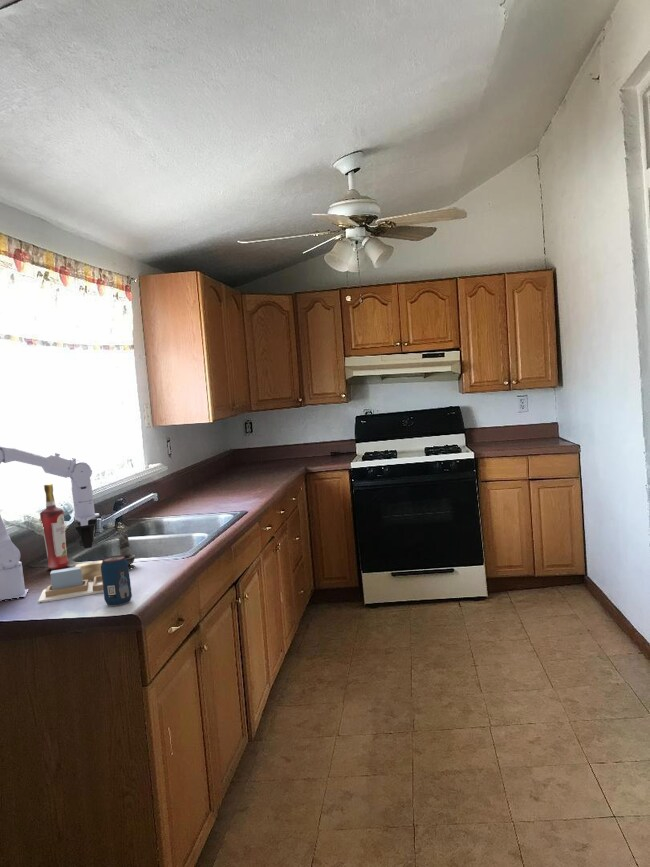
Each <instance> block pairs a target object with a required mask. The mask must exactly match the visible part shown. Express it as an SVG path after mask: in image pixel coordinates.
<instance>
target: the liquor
mask: <svg viewBox="0 0 650 867" xmlns="http://www.w3.org/2000/svg"><path fill="white" fill-rule="evenodd" d="M43 487H44V488H43V489H44V493H45V507H46V508H45V509H44V510H42V511H41V512H40V513H39V516H40V522H41V521H42V523H43V527H44V534H43V538H44V543H45V550H46V557H47V562H48V564H47V566H46V567H48V568H49V569H50V570H51V571H54V570H60V569H66V567H67V566H68V565H69V563H70V561H69V560H68V551H67V540H66V525H65V514H64V509H63V508H61V507H57V505H56V502H55V498H54V486H53V483H48V484H44V485H43ZM42 523H41V524H42Z"/></svg>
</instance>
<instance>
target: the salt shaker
mask: <svg viewBox="0 0 650 867" xmlns="http://www.w3.org/2000/svg"><path fill="white" fill-rule="evenodd" d="M118 541H119V542H118V544H119V545H118V547H119V552H120V553H119V555H122V556H125V559H126V560H127V562H128V568H129V570H132V569H131V568H133V569H135V568H136V565H134V564H133V563H134V561H135V557H136V555H135V554H132V552H131V549H130V545H131V544H130V543H129V536H128V534H127V533H124V531H123V530H122V531H121V533H120V534H119V535H118ZM134 567H135V568H134Z"/></svg>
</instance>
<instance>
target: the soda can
mask: <svg viewBox="0 0 650 867" xmlns="http://www.w3.org/2000/svg"><path fill="white" fill-rule="evenodd" d="M101 561H103V562H102V564H101V574H102V583H103V591H104V592H103V598H104V602H105V604H107V606H108V607H117V606H119V605H120V606H124V605H127V604H128V602H129V601H130V602H131V600H132V597H133V593H132V585H131V584H132V583H131V578H130V569H129V568H128V562H127V560H126V559H125V556H122V555H120V554H119V555H111V556H108V557H104V558H102V560H101ZM130 602H129V603H130ZM126 603H127V604H126ZM123 604H124V605H123ZM120 606H119V607H120Z"/></svg>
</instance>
